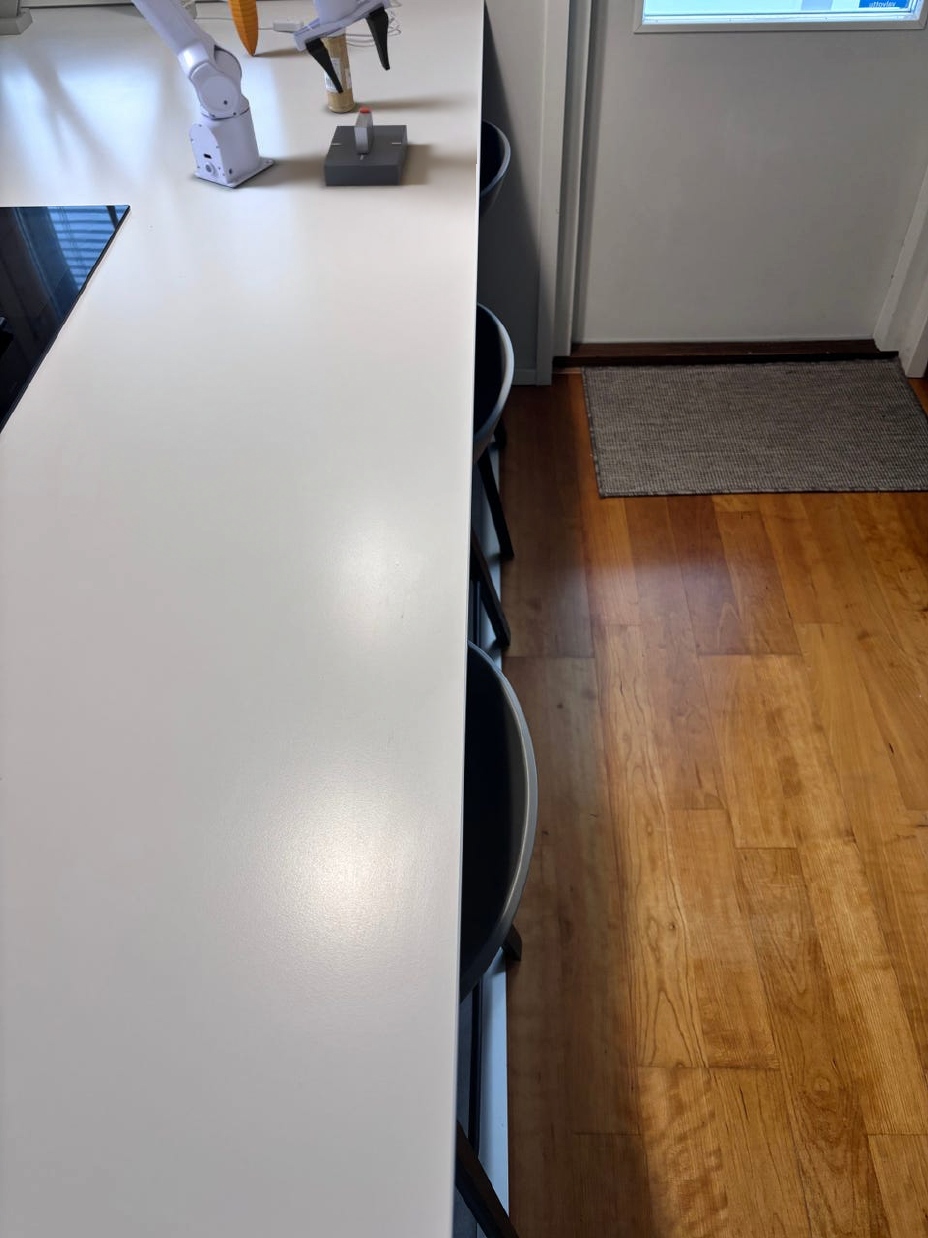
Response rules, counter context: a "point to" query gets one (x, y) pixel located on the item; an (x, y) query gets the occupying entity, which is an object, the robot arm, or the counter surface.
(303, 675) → the counter surface
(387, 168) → the base
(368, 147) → the tap handle
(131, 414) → the counter surface
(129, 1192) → the counter surface
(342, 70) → the sprinkles bottle
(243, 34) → the carrot
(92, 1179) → the counter surface
